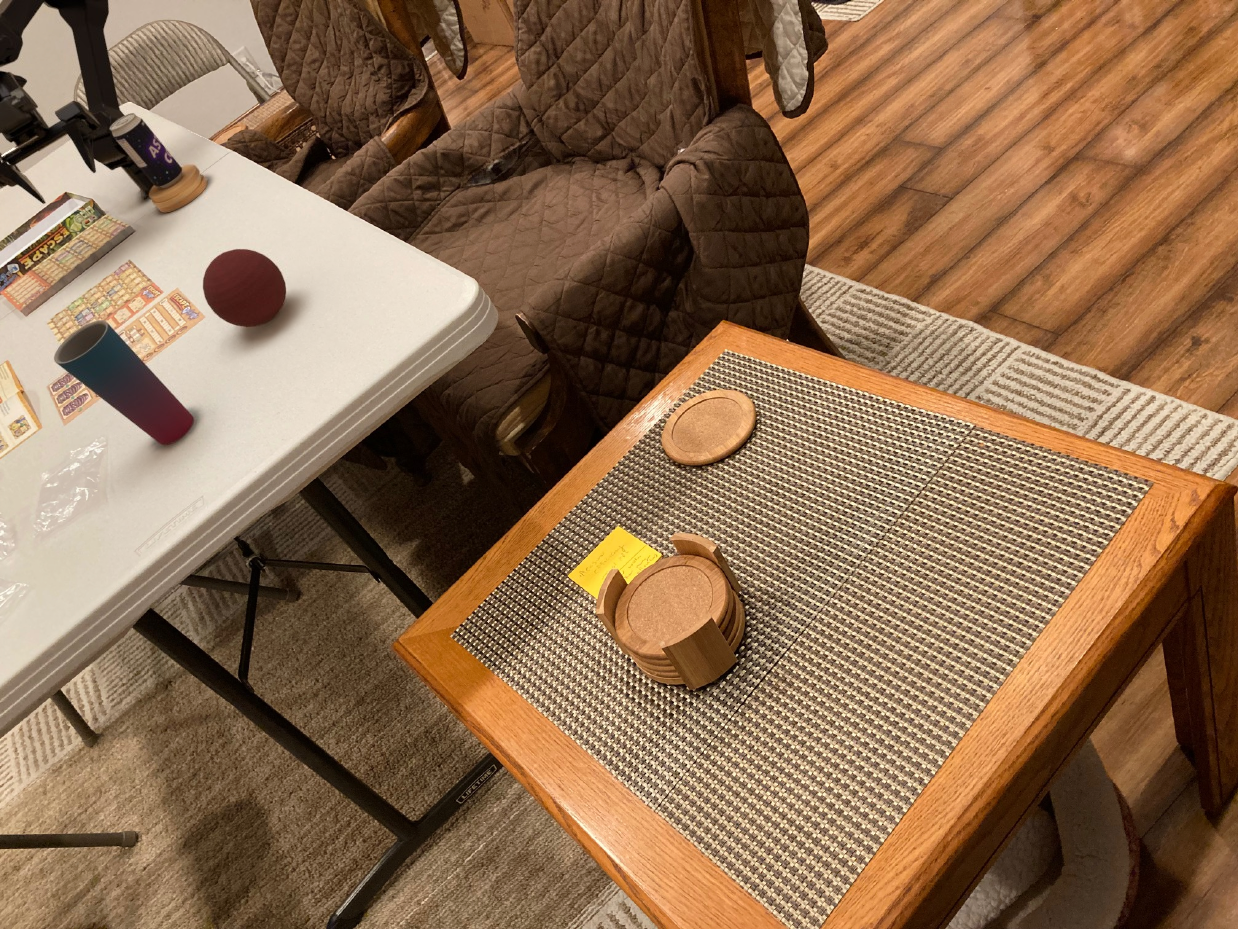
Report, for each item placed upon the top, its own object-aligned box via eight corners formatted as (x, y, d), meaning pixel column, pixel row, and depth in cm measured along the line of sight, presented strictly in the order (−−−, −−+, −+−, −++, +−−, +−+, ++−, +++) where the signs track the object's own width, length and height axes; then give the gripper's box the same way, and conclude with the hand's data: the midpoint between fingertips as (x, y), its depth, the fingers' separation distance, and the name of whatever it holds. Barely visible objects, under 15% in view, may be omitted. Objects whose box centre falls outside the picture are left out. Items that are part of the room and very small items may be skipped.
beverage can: (178, 185, 153) (128, 124, 145) (153, 194, 155) (102, 134, 147) (190, 167, 157) (141, 107, 149) (165, 176, 159) (116, 117, 150)
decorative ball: (231, 353, 114) (178, 295, 107) (241, 309, 121) (192, 252, 114) (298, 324, 112) (248, 263, 105) (304, 281, 119) (258, 222, 112)
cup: (160, 418, 109) (66, 332, 99) (205, 401, 108) (115, 312, 98) (145, 457, 105) (44, 371, 94) (192, 440, 103) (96, 350, 93)
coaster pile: (157, 201, 161) (145, 187, 159) (203, 172, 162) (192, 158, 160) (162, 219, 154) (150, 205, 152) (211, 189, 155) (199, 174, 153)
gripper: (-76, 115, 130) (-15, 200, 130) (34, 50, 132) (94, 134, 132) (-27, 146, 141) (28, 225, 141) (73, 86, 143) (128, 163, 143)
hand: (68, 187), depth 139 cm, fingers open, 9 cm apart
